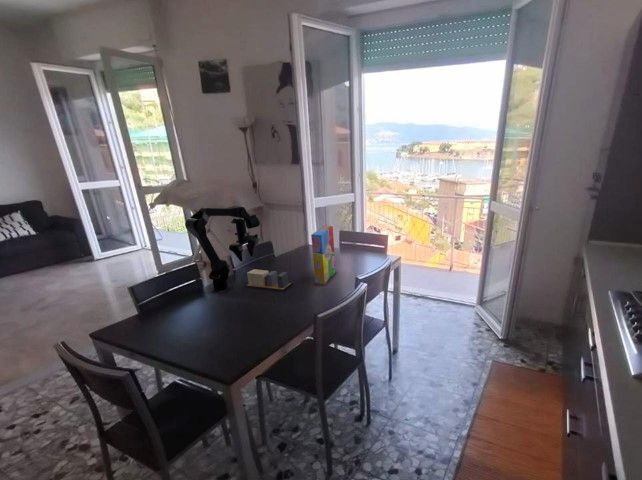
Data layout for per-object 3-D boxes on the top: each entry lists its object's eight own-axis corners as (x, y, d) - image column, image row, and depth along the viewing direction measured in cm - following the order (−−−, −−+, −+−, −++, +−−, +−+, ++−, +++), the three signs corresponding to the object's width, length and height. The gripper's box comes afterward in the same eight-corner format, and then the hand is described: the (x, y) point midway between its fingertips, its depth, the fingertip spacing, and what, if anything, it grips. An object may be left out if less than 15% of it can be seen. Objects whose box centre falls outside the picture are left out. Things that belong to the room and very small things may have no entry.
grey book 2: (283, 288, 183) (281, 276, 180) (278, 287, 184) (276, 275, 181) (288, 283, 188) (287, 272, 186) (284, 283, 189) (282, 272, 186)
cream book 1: (253, 284, 188) (251, 273, 185) (248, 284, 189) (246, 272, 186) (259, 280, 193) (258, 269, 191) (255, 280, 194) (253, 269, 191)
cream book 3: (263, 286, 186) (262, 274, 184) (259, 285, 187) (257, 274, 184) (270, 281, 192) (268, 270, 189) (265, 281, 192) (263, 270, 190)
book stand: (283, 291, 182) (281, 280, 180) (246, 287, 188) (244, 276, 186) (291, 284, 190) (290, 274, 187) (256, 281, 196) (254, 270, 193)
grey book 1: (272, 286, 185) (270, 275, 182) (267, 286, 186) (265, 274, 183) (278, 282, 190) (276, 271, 187) (273, 282, 191) (272, 270, 188)
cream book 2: (258, 285, 187) (256, 273, 185) (254, 284, 188) (252, 273, 185) (264, 281, 192) (263, 270, 190) (260, 280, 193) (258, 269, 190)
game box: (324, 285, 188) (320, 235, 177) (315, 285, 189) (310, 234, 178) (335, 272, 206) (332, 225, 195) (326, 271, 207) (323, 225, 196)
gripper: (244, 235, 177) (249, 265, 183) (264, 227, 193) (268, 254, 199) (225, 234, 180) (231, 263, 186) (247, 226, 196) (251, 253, 203)
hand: (246, 258), depth 194 cm, fingers open, 9 cm apart
